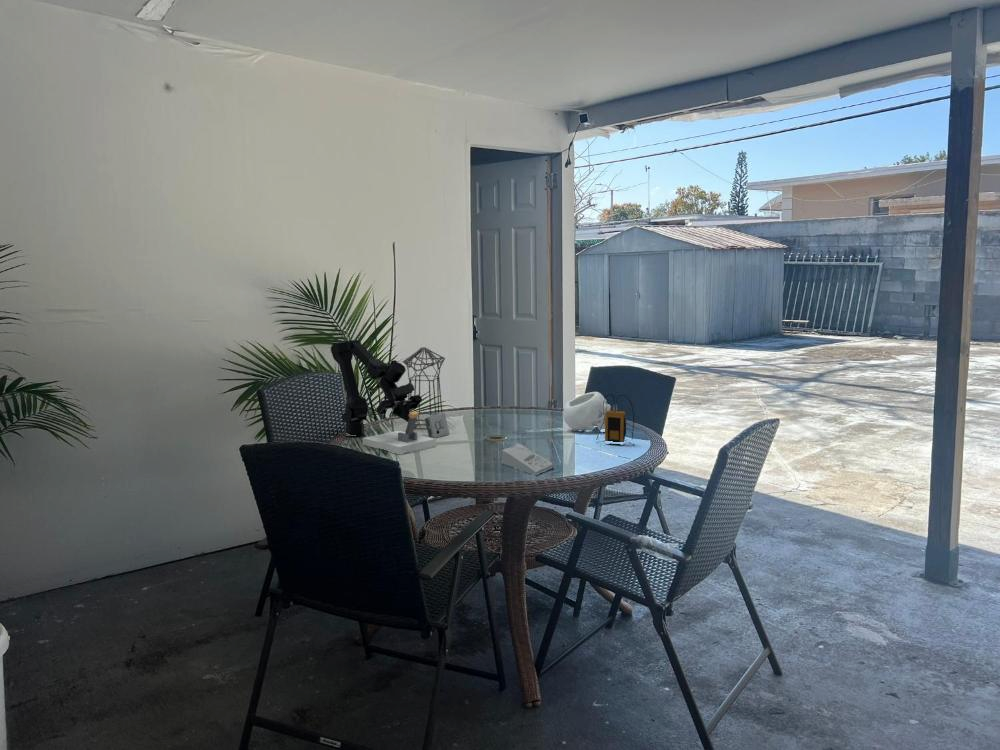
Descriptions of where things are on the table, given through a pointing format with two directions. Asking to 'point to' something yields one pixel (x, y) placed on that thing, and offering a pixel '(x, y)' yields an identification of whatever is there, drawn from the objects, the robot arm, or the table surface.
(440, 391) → the geometric lantern
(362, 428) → the robot arm
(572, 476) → the table surface
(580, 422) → the skull planter
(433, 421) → the electrical switch
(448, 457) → the table surface
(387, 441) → the thin white panel
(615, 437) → the multimeter
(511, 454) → the ramp
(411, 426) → the handle
